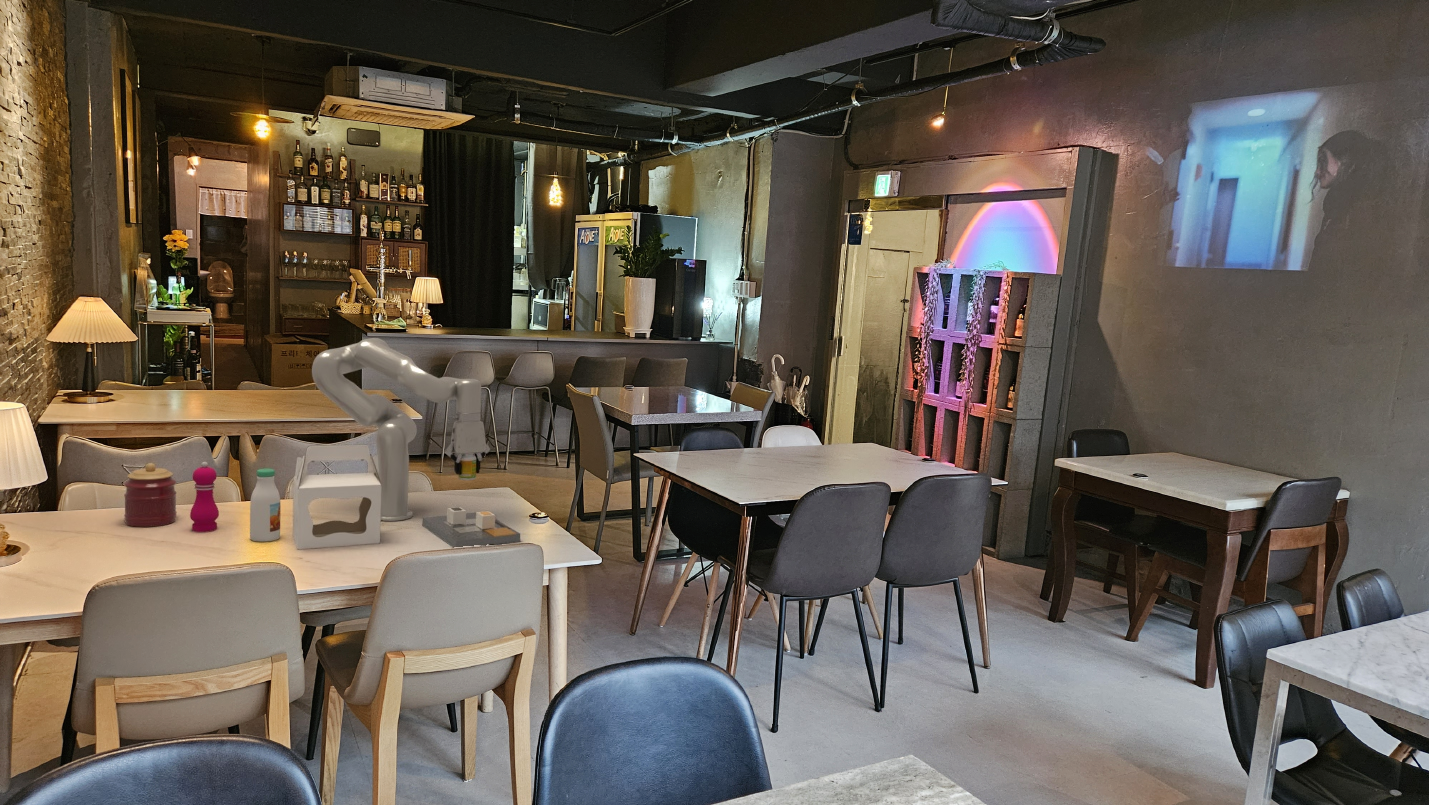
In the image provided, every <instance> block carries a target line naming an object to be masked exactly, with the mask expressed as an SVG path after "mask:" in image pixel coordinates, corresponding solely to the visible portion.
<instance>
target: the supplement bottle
mask: <svg viewBox="0 0 1429 805" xmlns="http://www.w3.org/2000/svg"><path fill="white" fill-rule="evenodd" d="M460 462H461V463H462V469H461V475H458V479H459V480H461V481H473V480H476V479H477V473H476V456H474V453H470V454H462V457H461V460H460Z"/></svg>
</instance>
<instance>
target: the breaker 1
mask: <svg viewBox="0 0 1429 805" xmlns="http://www.w3.org/2000/svg"><path fill="white" fill-rule="evenodd" d="M446 512H447V513H446V515H447V521H448V522H450V523H451V524H453V525H455V524H465V523H466V514H467V510H466V509H464V508H462V507H461V506H457V507H447V508H446Z"/></svg>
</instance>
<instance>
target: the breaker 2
mask: <svg viewBox="0 0 1429 805" xmlns="http://www.w3.org/2000/svg"><path fill="white" fill-rule="evenodd" d="M475 513H476V526H478V527H480V528H481V529H489V528H495V519H496V515H495V514H494V513H492V512H491V511H487V510H486V511H479V512H478V511H477V512H475Z"/></svg>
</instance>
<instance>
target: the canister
mask: <svg viewBox="0 0 1429 805" xmlns="http://www.w3.org/2000/svg"><path fill="white" fill-rule="evenodd" d="M173 475H174V473H173V472H172V471H169V470H168V469H166V468H164V467H163V468H162V467H160V468H159V467H157V466H156V464H155V463H152V462H148V463H147V464H145V467H144V468H140V469H139V468H138V469H135V470H133V471H132V472H130V473H129V474H127V478H128V480H126V481H125V482H124V483H123V485H124V487H125V488H126V489H125V493H124V496H123V497H124V515H123V516H124V518H123V519H124V521H125V524H126V525H127V526H131V527H139V528H147V527H148V528H149V527H150V528H151V527H159V526H165V525H166V526H167V525H168V524H172V523H174V522H175V521H176V518H177V498H176V497H177V491H176V490H175V489H176V488H175V485H176V484H177V480H176V479H174V478H173Z"/></svg>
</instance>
